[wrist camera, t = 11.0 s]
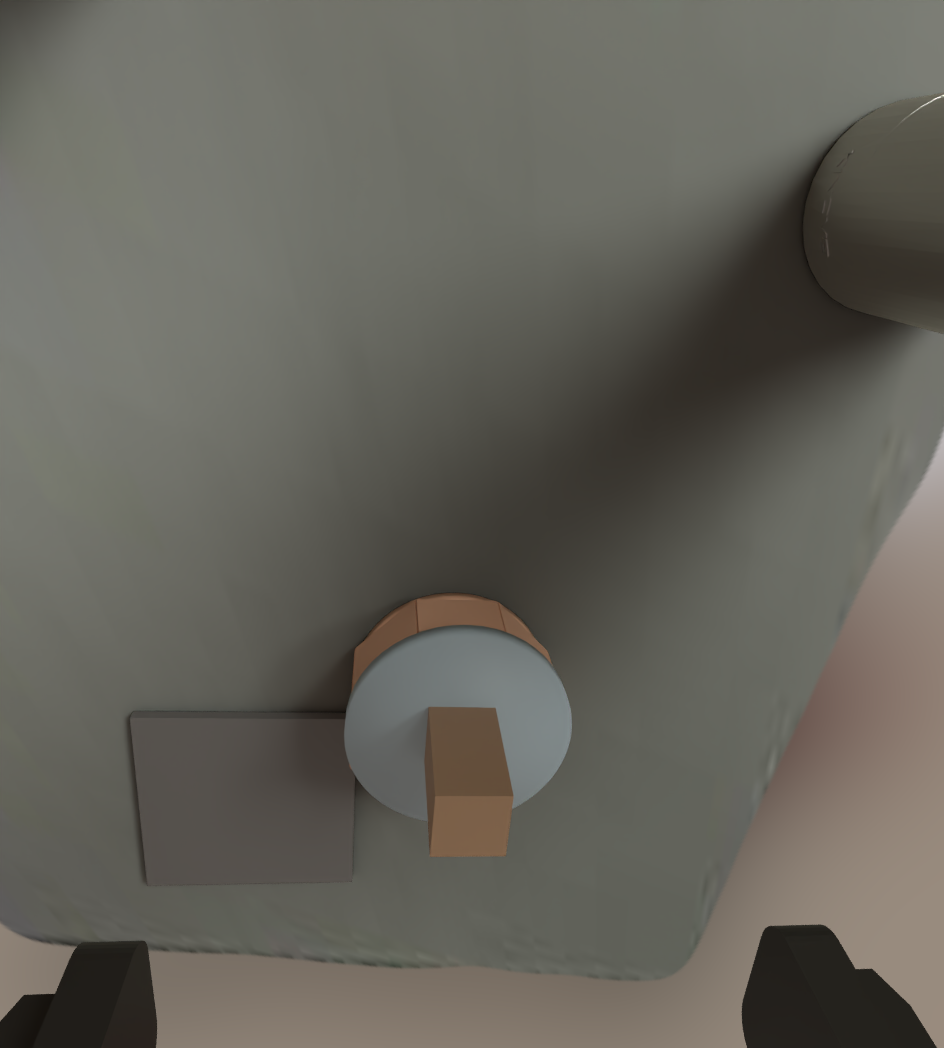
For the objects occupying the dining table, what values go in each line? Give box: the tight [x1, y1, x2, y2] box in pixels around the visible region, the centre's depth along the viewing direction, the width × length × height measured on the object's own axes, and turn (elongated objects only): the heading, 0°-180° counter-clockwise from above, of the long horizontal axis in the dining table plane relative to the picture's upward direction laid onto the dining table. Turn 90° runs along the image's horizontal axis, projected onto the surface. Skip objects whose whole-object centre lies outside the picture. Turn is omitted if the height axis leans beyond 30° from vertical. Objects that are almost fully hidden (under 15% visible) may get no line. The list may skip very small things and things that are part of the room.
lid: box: [344, 625, 572, 857], centre depth 36 cm, size 11×11×7 cm
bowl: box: [349, 593, 552, 770], centre depth 42 cm, size 10×10×5 cm
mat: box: [130, 711, 355, 886], centre depth 45 cm, size 12×12×1 cm
